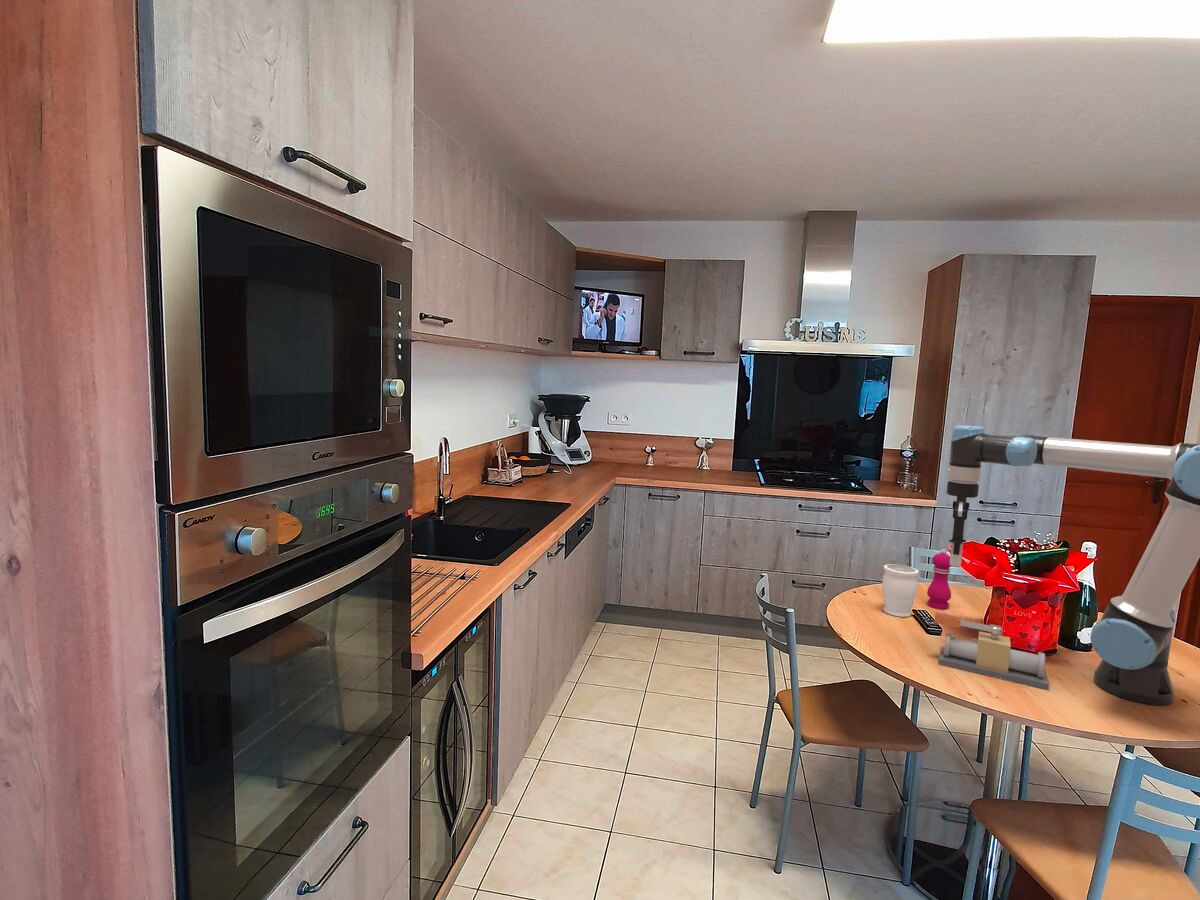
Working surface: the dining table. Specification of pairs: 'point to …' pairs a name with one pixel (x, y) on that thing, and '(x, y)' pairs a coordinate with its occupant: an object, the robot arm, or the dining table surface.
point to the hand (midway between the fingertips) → (955, 565)
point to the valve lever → (965, 623)
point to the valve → (994, 659)
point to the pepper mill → (940, 582)
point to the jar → (899, 589)
